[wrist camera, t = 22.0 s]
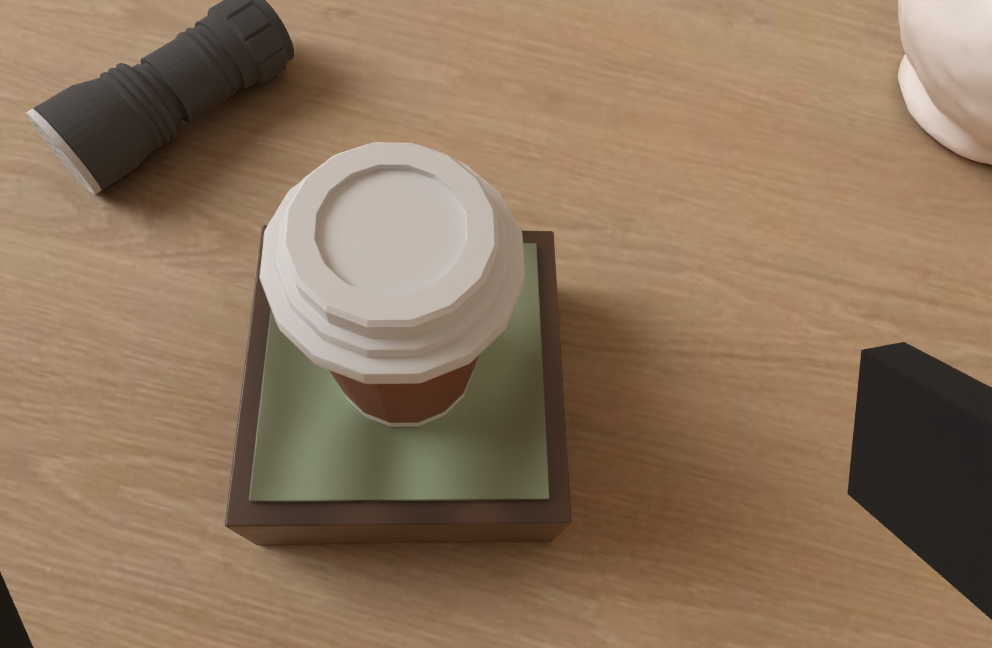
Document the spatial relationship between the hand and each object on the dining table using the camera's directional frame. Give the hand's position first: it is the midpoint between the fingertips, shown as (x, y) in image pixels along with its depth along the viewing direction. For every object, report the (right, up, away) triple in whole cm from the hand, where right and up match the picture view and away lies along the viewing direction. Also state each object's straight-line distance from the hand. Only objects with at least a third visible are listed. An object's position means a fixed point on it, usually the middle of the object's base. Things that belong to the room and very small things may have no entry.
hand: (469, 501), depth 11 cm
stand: (-4, -2, +29) cm, 30 cm away
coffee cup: (-4, +1, +24) cm, 24 cm away
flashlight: (-20, +16, +36) cm, 44 cm away
